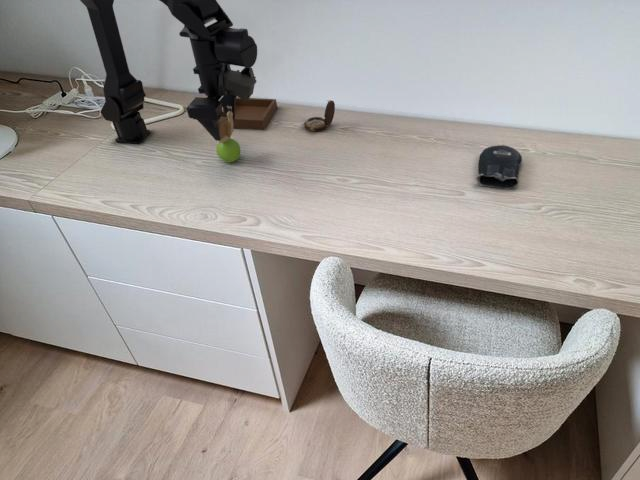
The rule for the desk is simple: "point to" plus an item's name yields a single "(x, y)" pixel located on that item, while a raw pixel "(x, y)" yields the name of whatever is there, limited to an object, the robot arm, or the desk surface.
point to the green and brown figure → (227, 140)
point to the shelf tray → (252, 113)
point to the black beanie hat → (499, 167)
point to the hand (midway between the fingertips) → (225, 130)
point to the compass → (321, 119)
